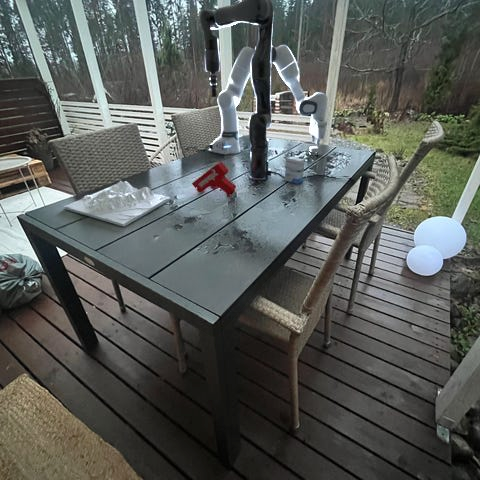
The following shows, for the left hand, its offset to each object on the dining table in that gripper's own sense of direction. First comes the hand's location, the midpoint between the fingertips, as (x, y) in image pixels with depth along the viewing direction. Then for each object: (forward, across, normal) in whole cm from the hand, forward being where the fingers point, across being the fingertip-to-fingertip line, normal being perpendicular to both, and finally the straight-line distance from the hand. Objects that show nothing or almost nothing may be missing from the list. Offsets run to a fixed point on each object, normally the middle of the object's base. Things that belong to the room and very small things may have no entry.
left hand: (315, 143), depth 183 cm
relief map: (+7, +70, -112) cm, 132 cm away
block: (+7, 0, 0) cm, 7 cm away
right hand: (-31, +17, -66) cm, 75 cm away
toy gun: (+7, +62, -69) cm, 93 cm away
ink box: (+7, +50, -27) cm, 57 cm away
